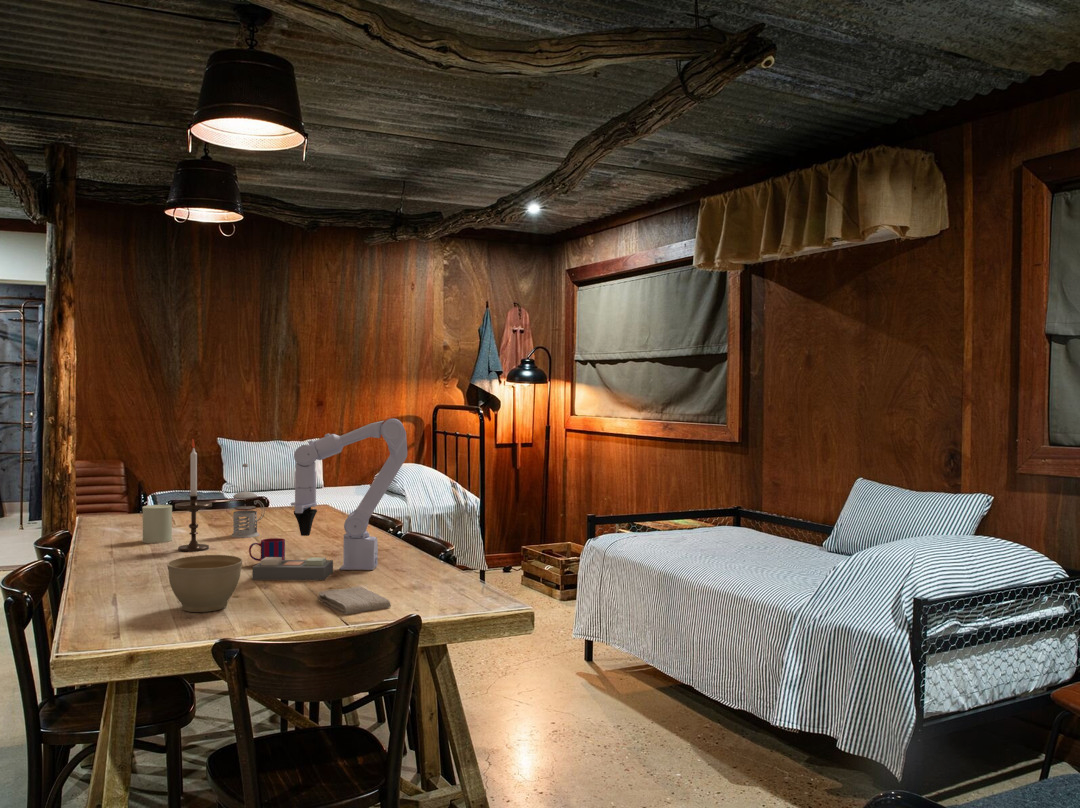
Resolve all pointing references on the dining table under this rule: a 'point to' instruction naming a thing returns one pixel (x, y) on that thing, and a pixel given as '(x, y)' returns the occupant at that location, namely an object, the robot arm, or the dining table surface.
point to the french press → (245, 515)
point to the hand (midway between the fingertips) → (305, 535)
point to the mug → (270, 548)
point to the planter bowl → (204, 581)
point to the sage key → (315, 561)
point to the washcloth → (353, 600)
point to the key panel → (292, 571)
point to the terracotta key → (293, 563)
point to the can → (157, 523)
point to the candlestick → (193, 508)
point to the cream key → (271, 561)
